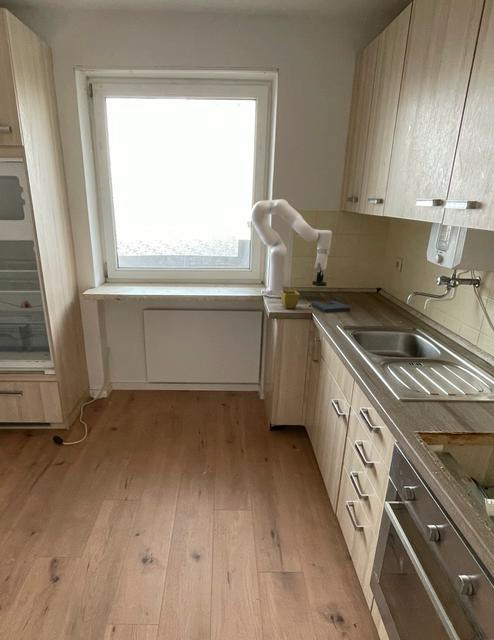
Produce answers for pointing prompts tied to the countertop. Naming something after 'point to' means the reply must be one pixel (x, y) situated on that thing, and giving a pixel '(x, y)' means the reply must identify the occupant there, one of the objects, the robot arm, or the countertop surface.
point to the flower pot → (289, 298)
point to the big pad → (331, 306)
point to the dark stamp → (319, 283)
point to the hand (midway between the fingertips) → (319, 281)
